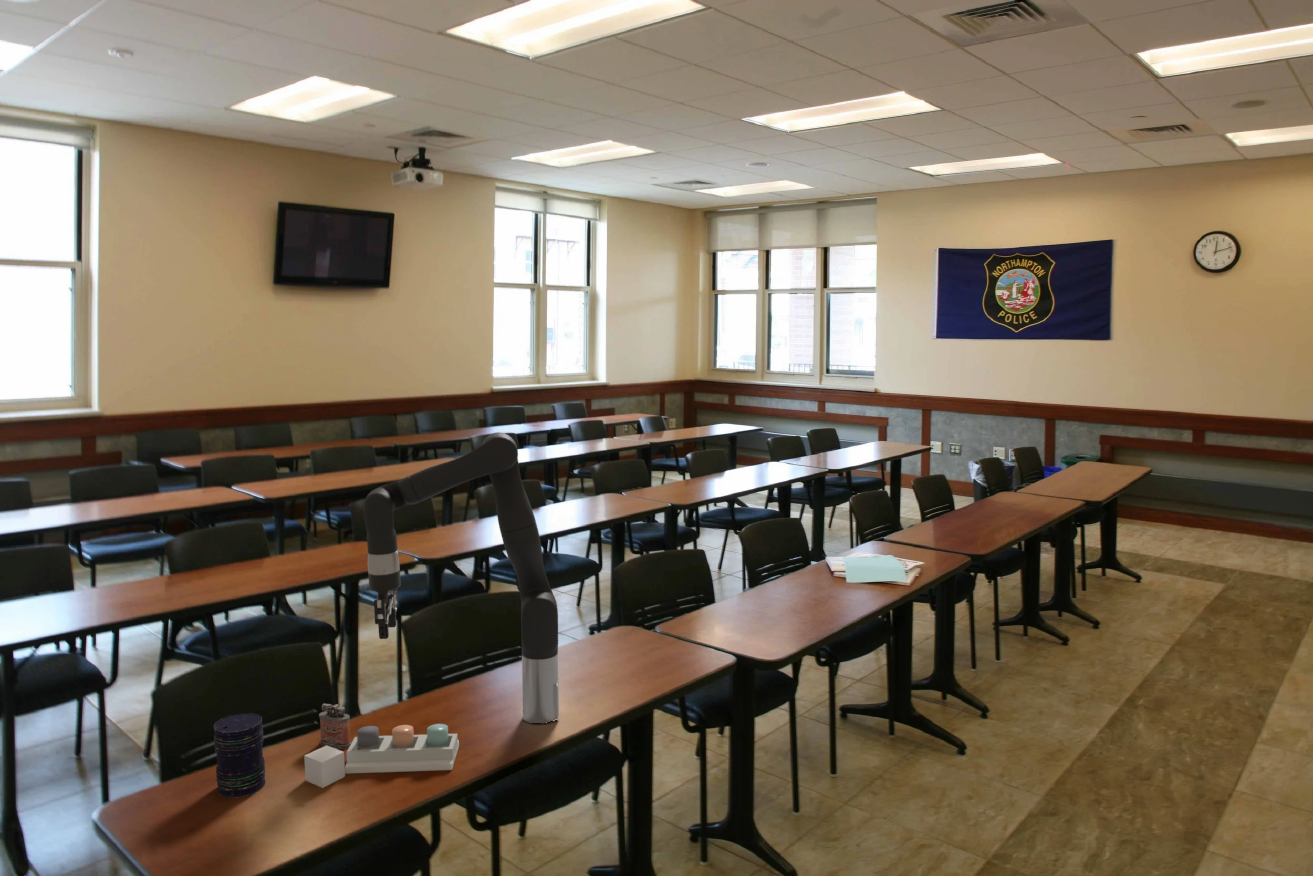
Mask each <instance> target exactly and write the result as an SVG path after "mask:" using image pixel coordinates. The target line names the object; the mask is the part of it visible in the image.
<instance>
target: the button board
mask: <svg viewBox="0 0 1313 876" xmlns="http://www.w3.org/2000/svg"><path fill="white" fill-rule="evenodd" d="M459 747H460V741H459V739H458V733H448V741H447V742H446V743H444V744H441V745H431V744H429V743H428V742H427V734H414V741H413V743H411V744H409V745H406V746H395V745H393V741H392V735H379V743H378V744H377V745H375V746H372V747H360V746H358V743H357V736H354V738H353V740H352V742H351V745H350V747H349V748H347V750H346V764H345V775H346V774H369V773H397V772H399V773H400V772H401V773H402V772H429V771H452V770H453V767H454V764H455V760H456V757H457V755H458V750H459Z"/></svg>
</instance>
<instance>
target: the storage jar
mask: <svg viewBox="0 0 1313 876" xmlns="http://www.w3.org/2000/svg"><path fill="white" fill-rule="evenodd" d="M213 731H214V733H213V735H214V736H213V743H214V752H215V753H216V768H215V774H216V776H215V777H216V779H215V780H216V783H217V784H216V785H217V794H218V793H219V794H218V795H219V796H220V797H224V798H227V797H228V799H233V798H234V799H235V798H237V799H238V798H242V797H247V795H248V796H250V795H253V794H255V793H257V792H260V791H261V790H262V789H263V788H264V787H265V785H266V761H265V758H264V755H263V754H264V753H263V744H264V738H265V737H264V729H263V717H262V716H261V715H259V714H258V713H255V712H254V713H252V712H243V713H242V712H241V713H240V712H239V713H236V714H231V715H227V716H224V717H223V718H221V719H219V720H217V721H216V722H215V723H214V724H213Z"/></svg>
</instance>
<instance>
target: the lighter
mask: <svg viewBox="0 0 1313 876" xmlns="http://www.w3.org/2000/svg"><path fill="white" fill-rule="evenodd" d="M321 710H322V712H320V713H319V714H318V717H319V720H320V721H319V722H320V724H319V725H320V740H319V741H320V743H319V744H320V745H322V747H324V746H326V745H327V746H330V747H332V748H335V749H338V750H340V749H343V750H345V749H349V747H350V745H351V743H352V742H351V739H350V737H351V734H350V719H351V716H350V714H347V713H345V710H346V708H345V707H344V706H340V704H337V703H336V704H334V705H333V704H331V703H322V705H321Z"/></svg>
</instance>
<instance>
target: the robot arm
mask: <svg viewBox="0 0 1313 876" xmlns="http://www.w3.org/2000/svg"><path fill="white" fill-rule="evenodd" d="M518 452H519V450H518V446H517V443H516V441H515V440H514V439H513V437H511V436H510V435H508V434H507V433H504V432H501V431H499V432H493V433H491V434H489V435H487V436H486V437H485V438H484V440H482V443H481V445H480V446H478V447H477V448H475V449H473V450H471V451H470V452H468V453H466V454H464V455H462V456H460V457H457V458H454V459H452V460H449V461H446V462H442V463H439V464H436V465H433V466H429V467H427V468H424V469H422V470H419V471H417V472H415V473H412V474H410V475H407V476H406V477H404V478H402V479H400V480H396V481H393V482H390V483H387V484H384V485H381V486H379V487H377V488H374V489H373V490H371V491H370V492H369V493H368V494H367V496H366V497H365V499H364V501H363V506H362V507H363V518H364V524H365V529H366V542H367V574H368V587H369V590H370V591H372V592H375V593H377V597H375V599H373V607H374V609H373V610H374V624H375V625H378V638H379V639H380V640H387V639H389V637H390V633H389V630H390V629H389V628H396V627H397V611H398V607H399V603H398V588H400V587H401V585H402V584H401V569H400V568H401V567H400V566H401V565H400V556H399V552H398V538H397V536H398V535H397V532H396V530H395V525H394V524H395V523H394V522H395V519H394V511H397V510H399V509H401V508H404V507H405V506H408V505H412V506H413V505H416V504H419V503H421V502H423V501H425V500H428V499H430V498H433V497H435V496H436V495H439V494H442V493H444V492H446V491H448V490H450V489H452V488H455V487H457V486H459V485H461V484H464V483H466V482H469V481H473V480H475V479H478V478H482V477H486V476H489V478H490V481H491V483H492V488H493V492H494V499H495V509H496V517H497V522H498V527H499V531H500V535H501V539H502V543H503V546H504V549H505V551H506V554H507V557H508V559H509V562H510V564H511V566H512V567H513V570H514V573H515V575H516V579H517V583H518V588H519V589H518V590H519V595H520V605H521V606H520V610H521V611H520V624H521V625H520V627H521V629H520V632H521V669H522V670H521V673H522V674H521V675H522V679H521V680H522V682H521V683H522V719H523V720H524V721H525V722H526V723H529V724H532V723H546V722H550V721H553V720H555V719H558V717H559V716H560V692H559V691H560V689H559V685H560V684H559V683H560V682H559V610H558V604H557V601H556V597H555V596H554V593H553V590H552V588H551V585H550V582H549V580H548V576H547V574H546V570H545V566H544V558H543V557H544V556H543V549H542V543H541V536H540V533H539V528H538V525H537V521H536V517H535V515H534V511H533V508H532V505H531V502H530V500H529V496H528V494H527V493H526V490H525V487H524V485H523V482H522V478H521V477H522V476H521V472H520V465H519V458H518V457H519V453H518ZM381 617H382V618H381ZM558 720H559V719H558ZM553 722H554V721H553ZM550 723H551V722H550ZM546 724H547V723H546Z"/></svg>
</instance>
